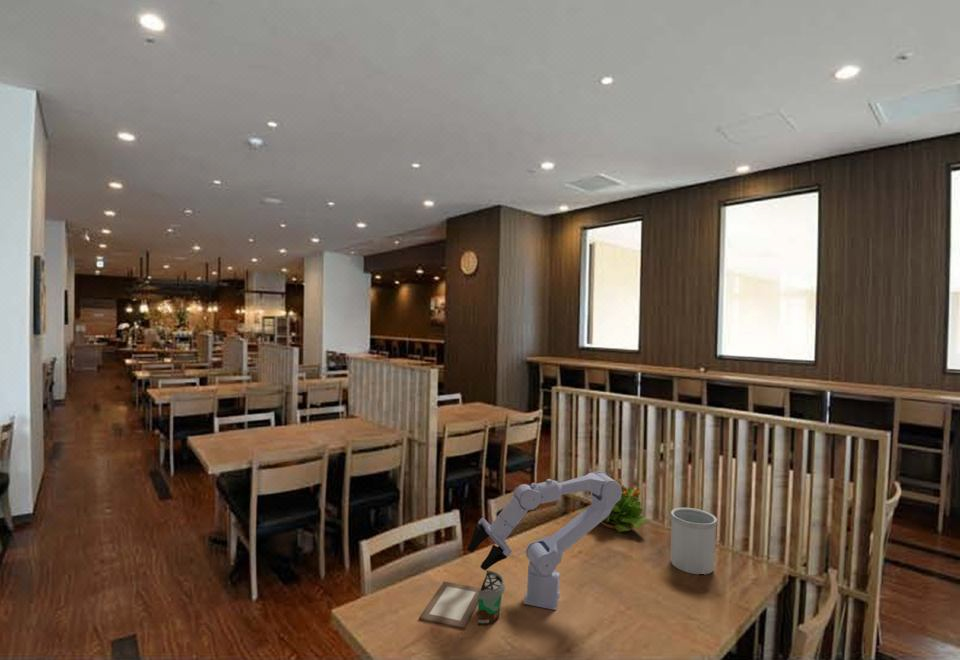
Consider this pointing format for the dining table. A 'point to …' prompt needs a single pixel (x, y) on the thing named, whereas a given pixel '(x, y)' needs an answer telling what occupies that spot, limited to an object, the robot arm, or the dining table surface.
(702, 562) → the utensil holder
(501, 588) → the food container
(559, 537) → the robot arm
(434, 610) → the brown picture frame
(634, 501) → the potted flower
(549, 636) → the dining table surface
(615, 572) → the dining table surface
